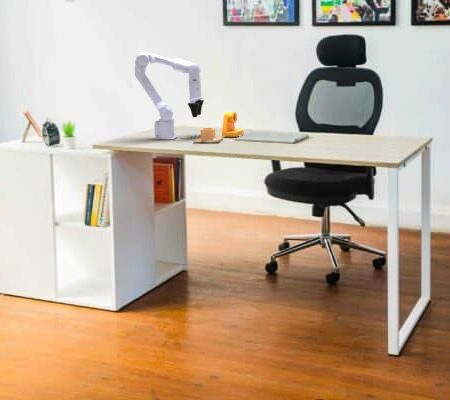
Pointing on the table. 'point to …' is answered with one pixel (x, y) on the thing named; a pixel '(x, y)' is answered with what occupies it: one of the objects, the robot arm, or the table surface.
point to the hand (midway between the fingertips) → (196, 116)
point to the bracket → (230, 125)
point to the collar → (207, 133)
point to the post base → (208, 141)
